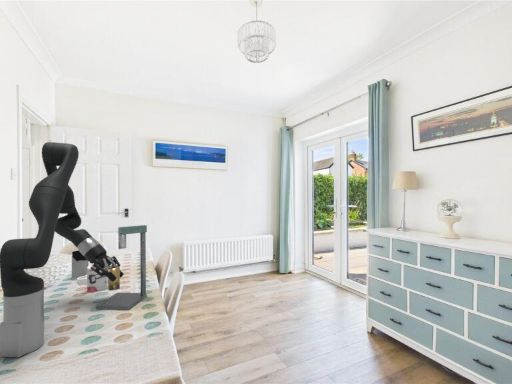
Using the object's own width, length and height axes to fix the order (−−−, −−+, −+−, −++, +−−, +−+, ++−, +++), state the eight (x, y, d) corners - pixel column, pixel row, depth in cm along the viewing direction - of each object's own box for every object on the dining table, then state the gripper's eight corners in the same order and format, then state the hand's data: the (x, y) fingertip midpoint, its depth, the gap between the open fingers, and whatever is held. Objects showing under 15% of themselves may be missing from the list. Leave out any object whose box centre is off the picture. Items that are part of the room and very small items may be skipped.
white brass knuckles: (117, 275, 152) (114, 282, 138) (80, 279, 145) (74, 288, 131) (117, 269, 152) (114, 276, 138) (80, 273, 145) (74, 281, 131)
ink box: (87, 293, 123) (87, 268, 123) (87, 290, 127) (87, 266, 127) (107, 289, 128) (107, 265, 128) (107, 286, 132) (106, 263, 132)
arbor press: (131, 310, 104) (130, 229, 104) (96, 309, 105) (95, 229, 105) (149, 295, 119) (149, 225, 119) (118, 295, 120) (118, 225, 120)
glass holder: (69, 277, 147) (69, 251, 147) (98, 272, 156) (98, 247, 156) (71, 281, 140) (71, 253, 140) (101, 275, 149) (101, 249, 150)
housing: (115, 290, 110) (115, 266, 110) (105, 290, 110) (105, 266, 110) (122, 286, 114) (122, 263, 114) (112, 286, 114) (112, 263, 114)
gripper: (85, 247, 106) (113, 277, 105) (108, 241, 120) (133, 267, 119) (73, 260, 106) (101, 290, 105) (97, 252, 120) (122, 278, 119)
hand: (118, 278), depth 112 cm, fingers closed on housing, 4 cm apart
